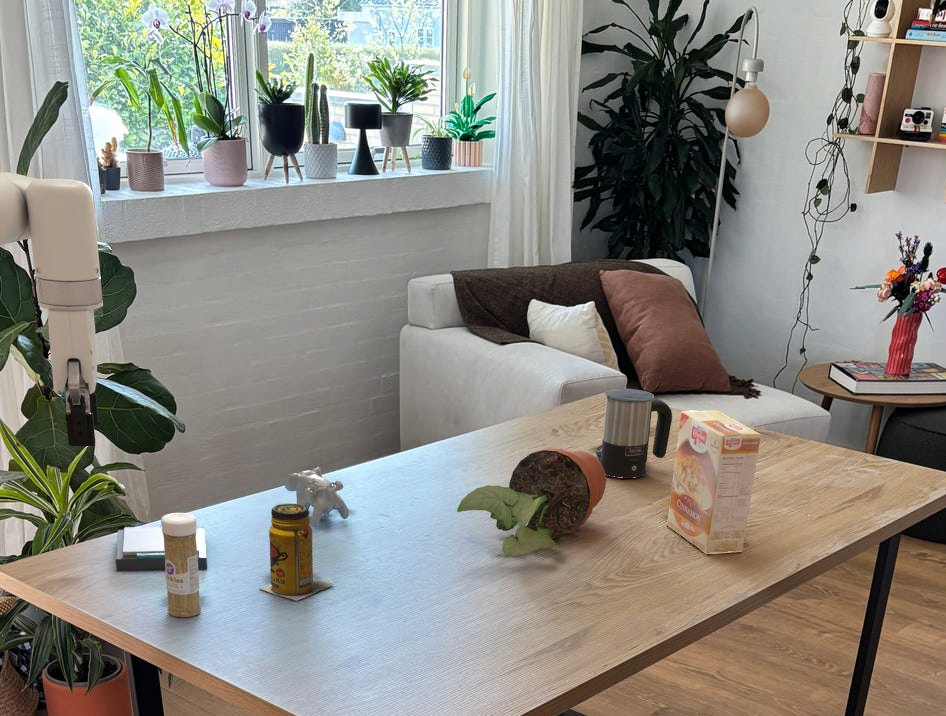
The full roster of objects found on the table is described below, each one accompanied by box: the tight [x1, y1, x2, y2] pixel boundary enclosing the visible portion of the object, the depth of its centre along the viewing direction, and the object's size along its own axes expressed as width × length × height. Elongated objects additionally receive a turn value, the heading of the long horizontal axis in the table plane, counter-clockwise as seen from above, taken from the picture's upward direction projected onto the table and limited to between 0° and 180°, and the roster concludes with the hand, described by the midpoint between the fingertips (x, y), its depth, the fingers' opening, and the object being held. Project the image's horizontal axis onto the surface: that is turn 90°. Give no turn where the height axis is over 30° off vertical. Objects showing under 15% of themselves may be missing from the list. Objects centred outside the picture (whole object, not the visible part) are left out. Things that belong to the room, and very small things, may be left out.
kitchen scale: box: [115, 526, 208, 572], centre depth 196 cm, size 13×13×2 cm
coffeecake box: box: [666, 409, 762, 553], centre depth 212 cm, size 15×7×20 cm, turn 18°
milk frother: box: [595, 388, 673, 478], centre depth 248 cm, size 14×16×15 cm
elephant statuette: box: [284, 466, 350, 528], centre depth 213 cm, size 9×12×8 cm
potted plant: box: [456, 447, 607, 558], centre depth 206 cm, size 16×15×35 cm
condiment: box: [258, 503, 335, 602], centre depth 185 cm, size 7×8×12 cm
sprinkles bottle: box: [160, 512, 202, 618], centre depth 175 cm, size 5×5×13 cm
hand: (84, 434), depth 166 cm, fingers open, 9 cm apart
